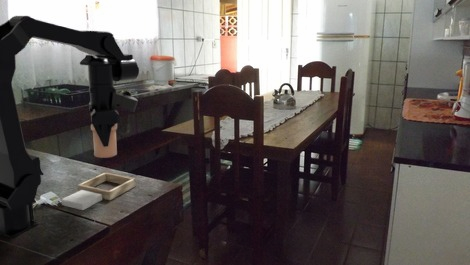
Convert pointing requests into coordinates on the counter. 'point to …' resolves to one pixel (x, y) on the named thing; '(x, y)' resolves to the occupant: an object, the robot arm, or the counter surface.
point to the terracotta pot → (100, 149)
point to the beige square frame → (109, 195)
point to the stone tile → (82, 199)
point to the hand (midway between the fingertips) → (105, 143)
